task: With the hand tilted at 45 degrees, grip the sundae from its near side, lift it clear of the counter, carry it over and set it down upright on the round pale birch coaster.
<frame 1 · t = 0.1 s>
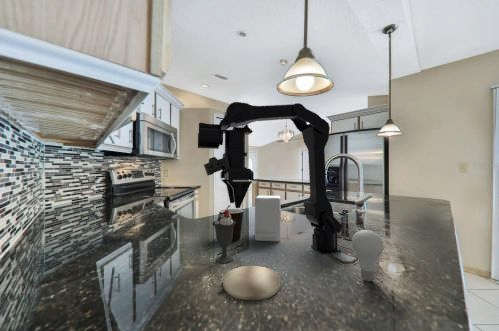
hand: (234, 205, 60), 15 cm above the countertop, tool pointing down, fingers open, 9 cm apart
coffee mug: (231, 238, 78), on the countertop
supplement box: (268, 238, 78), on the countertop
sundae: (224, 260, 59), on the countertop
coaster: (251, 283, 46), on the countertop
lightbulb: (367, 281, 47), on the countertop
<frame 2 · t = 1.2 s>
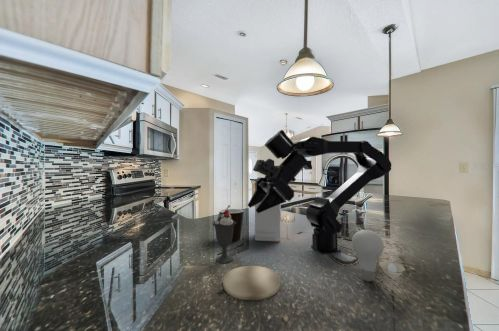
hand: (252, 209, 61), 13 cm above the countertop, tool tilted 45°, fingers open, 9 cm apart
nothing on the countertop moved.
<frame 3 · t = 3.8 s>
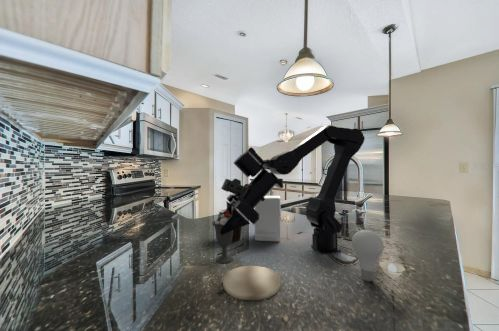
hand: (219, 229, 59), 8 cm above the countertop, tool tilted 45°, fingers closed on sundae, 6 cm apart
sundae: (224, 260, 59), on the countertop, touching gripper
everything else where it was.
when the fingers open (10 cm above the countertop, at t = 8.2 s): sundae drops 1 cm, resting on coaster.
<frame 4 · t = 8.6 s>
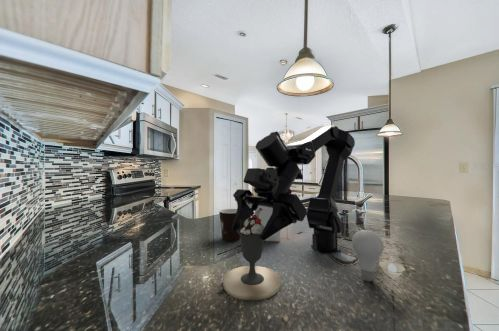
hand: (246, 234, 45), 11 cm above the countertop, tool tilted 45°, fingers open, 9 cm apart
sundae: (252, 279, 46), point 1 cm above the countertop, touching coaster
everything else where it was.
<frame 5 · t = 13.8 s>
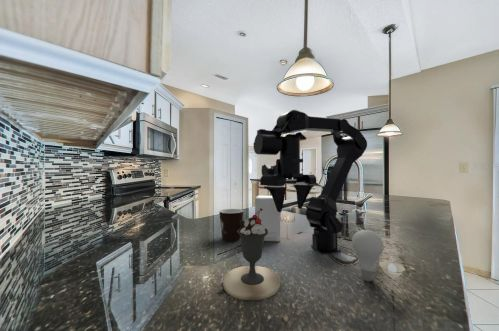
hand: (290, 210, 61), 13 cm above the countertop, tool pointing down, fingers open, 9 cm apart
nothing on the countertop moved.
at the end: sundae inside the target area on the coaster (0.5 cm from its centre), point 1.0 cm above the coaster's base; sundae tilted 0°; the gripper is holding nothing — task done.
